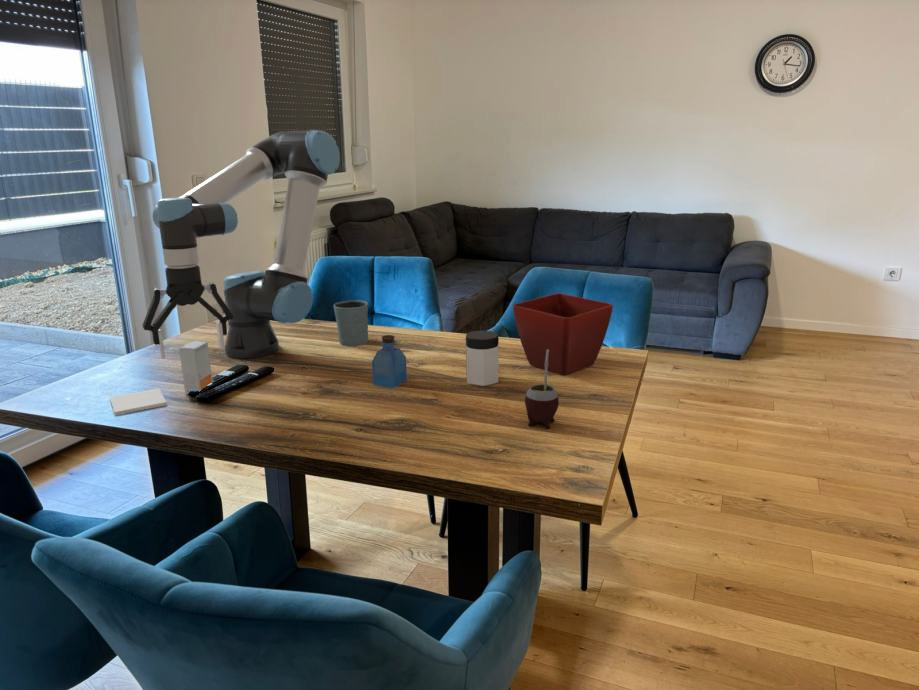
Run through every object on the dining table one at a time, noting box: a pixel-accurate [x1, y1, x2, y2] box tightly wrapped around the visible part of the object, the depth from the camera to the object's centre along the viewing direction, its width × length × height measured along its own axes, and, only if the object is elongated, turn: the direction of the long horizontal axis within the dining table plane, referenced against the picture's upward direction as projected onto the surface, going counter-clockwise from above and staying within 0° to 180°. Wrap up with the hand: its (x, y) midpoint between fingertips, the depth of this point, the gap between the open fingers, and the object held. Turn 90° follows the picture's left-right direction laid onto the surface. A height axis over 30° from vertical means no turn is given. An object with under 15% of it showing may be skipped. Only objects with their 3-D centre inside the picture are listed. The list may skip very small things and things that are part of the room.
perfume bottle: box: [371, 334, 408, 389], centre depth 168 cm, size 6×6×12 cm
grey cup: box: [333, 299, 369, 347], centre depth 202 cm, size 10×10×12 cm
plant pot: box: [512, 292, 614, 376], centre depth 177 cm, size 19×19×17 cm
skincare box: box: [178, 340, 213, 395], centre depth 164 cm, size 6×4×12 cm
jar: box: [465, 330, 500, 387], centre depth 168 cm, size 9×8×12 cm
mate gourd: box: [524, 349, 560, 430], centre depth 142 cm, size 8×8×15 cm
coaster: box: [109, 388, 168, 416], centre depth 159 cm, size 11×11×1 cm
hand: (192, 352), depth 162 cm, fingers open, 13 cm apart
